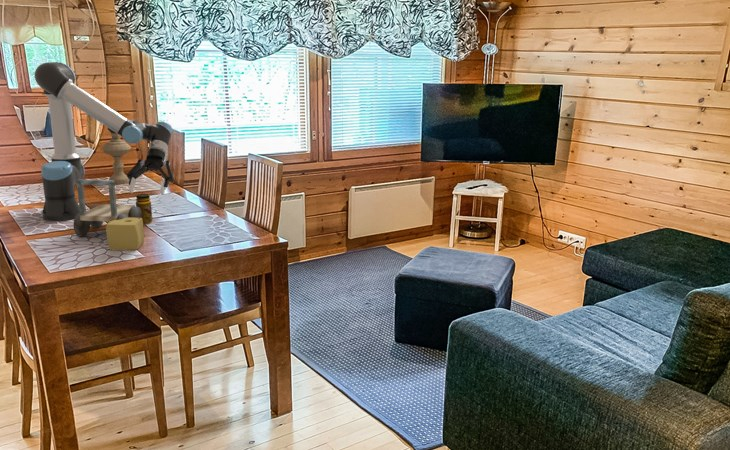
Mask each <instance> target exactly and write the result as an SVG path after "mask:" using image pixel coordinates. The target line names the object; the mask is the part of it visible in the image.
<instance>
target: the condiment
mask: <svg viewBox="0 0 730 450" xmlns="http://www.w3.org/2000/svg"><path fill="white" fill-rule="evenodd" d="M135 200H136V202H135V207H139V208H140V209H141V212H142V220H143V225H150V224H151V225H152V224H155V221H154V220H153V211H152V201H151V198H150V194H148V193H140V194H139V193H138V194H137V195H136V199H135Z"/></svg>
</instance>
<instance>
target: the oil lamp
mask: <svg viewBox="0 0 730 450" xmlns="http://www.w3.org/2000/svg"><path fill="white" fill-rule="evenodd" d="M113 110H114V111H116V109H113ZM116 112H117V111H116ZM107 130H108V131H109V132H110V136H111V138H110V140H108V141H106V142H105V144H104V145H102V146H101V150H102V152H104V154H107V155H109V156H111V157H112V158H113V159H114V162H113V164H112V168H113V174H112V175H111V176H110V177H109V178H108V180H114V185H126V184H129V180H130V179H128V177H127V176H126V175H127V174H125V172H124V167H125V165H124V164H123V163H122V161H121V160H122V159H121V158H122V157H123V156H124V155H126V154H128V153H129V152H130V151H131V149H132V147H131V145H130V144H129V143H128V142H126V141H125V140H122V139H123V137H122V136H120V135H119V134H117V133H116V132H114V131H113V130H111V129H110V128H108V127H107Z"/></svg>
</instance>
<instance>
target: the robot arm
mask: <svg viewBox="0 0 730 450" xmlns="http://www.w3.org/2000/svg"><path fill="white" fill-rule="evenodd" d="M34 80H35V82H36V83H37V85H38V87H40V88H41V89H42V91H43V95H44V96H45V97H46V98H47V100H48V106H49V107H48V108H49V117H50V124H51V134H52V141H53V149H54V154H52V156H51V157H50V158H51V161H49V162H46V163H43V164H42V166H41V169H40V172H41V174H40V175H41V177H42V178H41V179H42V187H43V188H42V189H43V194H44V203H43V207H42V208H43V209H42V212H41V215H42V219H43V220H46V221H53V222H56V221H68V220H69V221H70V220H74V219H75V216H76V215H77V214H78V213H80V208H79V202H78V200H77V198H76V194H75V193H76V192H75V186H77V181H76V180H78V179H83V178H84V177H85V171H86V170H85V167H84V165H83V163H82V162H81V156H80V154H78V153H77V150H76V140H75V139H76V138H75V129H74V121H73V111H72V110H73V109H72V106H74V107H75V108H77V109H79V110H80V111H81V112H83V113H85V114H86V115H88V116H89V117H90V118H92V119H94V120H96V121H97V122H99V123H100V124H102V125H104V126H105V127H107V129H108V128H110V129H111V130H113V131H114V132H116V133H117V134H119V135H120V136H119V137H123V138H122V139H123V141H125V142H126V143H127V144H133V145H134V144H138V143H140V142H141V141H142V140H144V141H148V142H150V145H149V148H148V151H147V155H146V159H145V160H142V159H141V158H139V159H138V160H137V162H136V164H135V165H133V167H132V168H131V169H130V170H129V171H128V172H127V173H126V174H125V175H126V176H127V177H128V179H130V180H129V183H128V185H129V187H128V192H129V193H130V194H133V193H134V189H135V187H136V182H137V180H136V179H138V178H140V177H141V176H142V175H143V174H145V173H147V172H152V171H154V172H157V171H159V172H160V175H162V177H163V179H162V183H161V187H160V190H159V193H160V194H161V195H162V196H164V194H165V190H166V189H167V188H168V187H169V183H170V182H173V181H174V180H175V179H174V175H173V171H172V170H171V162H170V161H169V160H167V159H166V155H167V152H168V147H169V144H170V141H171V138H172V132H173V127H172V125H171V124H170V123H168V122H166V121H163V120H162V121H157V122H156V124H149V123H146V122H141V121H138V120H132V119H128V118H127V117H125V116H123V115H121V114H120V113H119V112H117V111H114V110H115V109H114V110H113V109H112V108H111V107H110V106H108V105H106V104H105V103H103V102H102V101H101V100H100V99H98V98H96V97H95V96H93V95H91V94H89V93H88V92H87V91H85V90H84V89H82V88H80V87H79V86H78V85H76V84H75V82H76V75H75V71H73V69H72V68H71V67H70V66H69V65H67V64H66V63H63V62H58V61H53V62H52V61H51V62H44V63H40V65H38V66H37V67H36V68H35V71H34ZM163 167H165V168H166V170H167V173H168V176H167V174H166V172H165V171H164V169H163Z"/></svg>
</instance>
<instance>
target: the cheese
mask: <svg viewBox="0 0 730 450" xmlns="http://www.w3.org/2000/svg"><path fill="white" fill-rule="evenodd" d="M105 229H106V239H107V240H106V241H107V244H108V248H109V251H136V250H138V249H139V248H140V247H141V245H143V244H144V242H145V233H144V232H145V231H144V224H143V220H142V218H123V219H120V220H113V221H111V222H110V221H108V222H107V224H106V228H105Z"/></svg>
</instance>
